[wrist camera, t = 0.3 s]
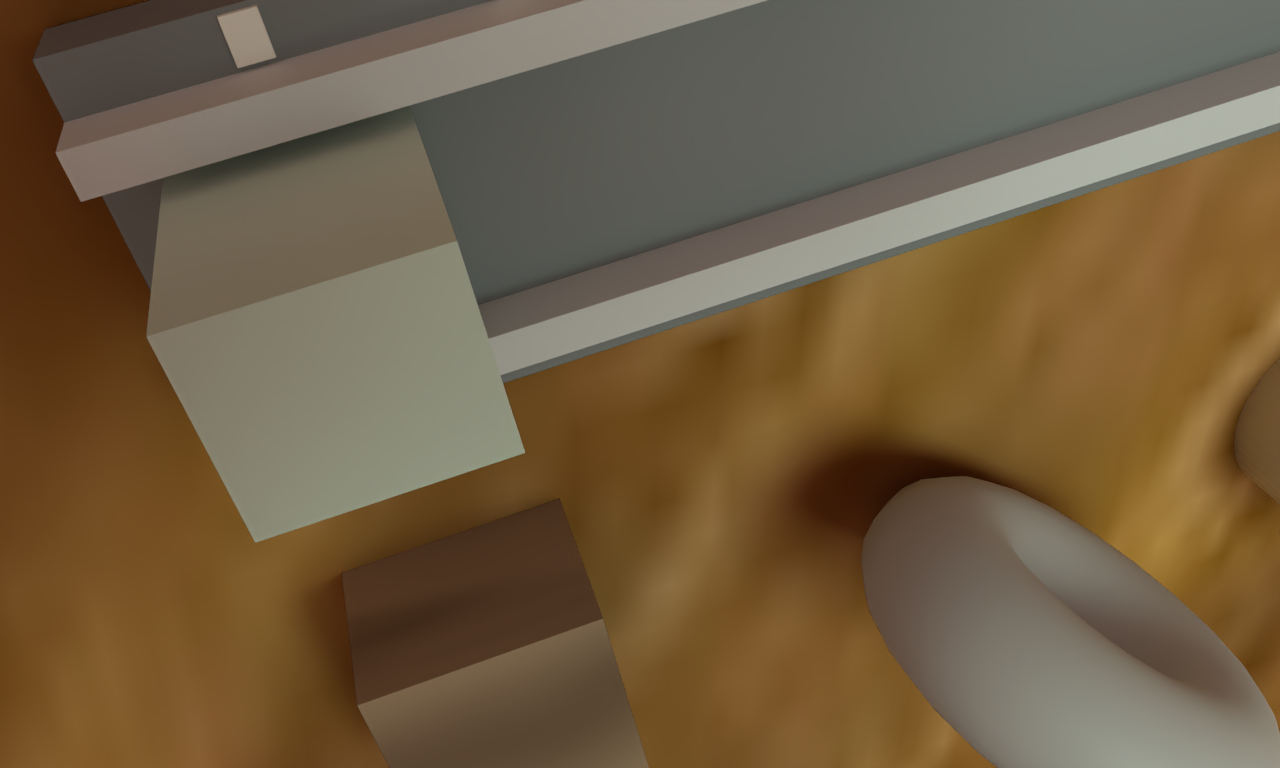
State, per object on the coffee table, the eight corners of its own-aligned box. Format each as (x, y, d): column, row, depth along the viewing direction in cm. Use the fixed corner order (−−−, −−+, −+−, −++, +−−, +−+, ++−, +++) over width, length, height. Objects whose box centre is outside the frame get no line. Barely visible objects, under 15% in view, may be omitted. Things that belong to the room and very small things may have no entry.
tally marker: (469, 290, 21) (525, 452, 17) (249, 359, 21) (255, 542, 17) (409, 104, 19) (457, 240, 15) (162, 176, 19) (145, 337, 15)
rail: (1550, 2, 27) (1666, 39, 25) (241, 422, 23) (242, 508, 21) (1664, -418, 22) (1819, -418, 20) (44, 29, 19) (20, 88, 16)
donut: (1119, 507, 32) (1413, 810, 24) (1040, 599, 34) (1294, 918, 26) (849, 394, 27) (1105, 728, 19) (767, 508, 29) (977, 865, 21)
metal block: (603, 641, 30) (649, 768, 27) (410, 711, 29) (432, 849, 26) (558, 495, 27) (603, 618, 24) (341, 568, 26) (357, 705, 23)
